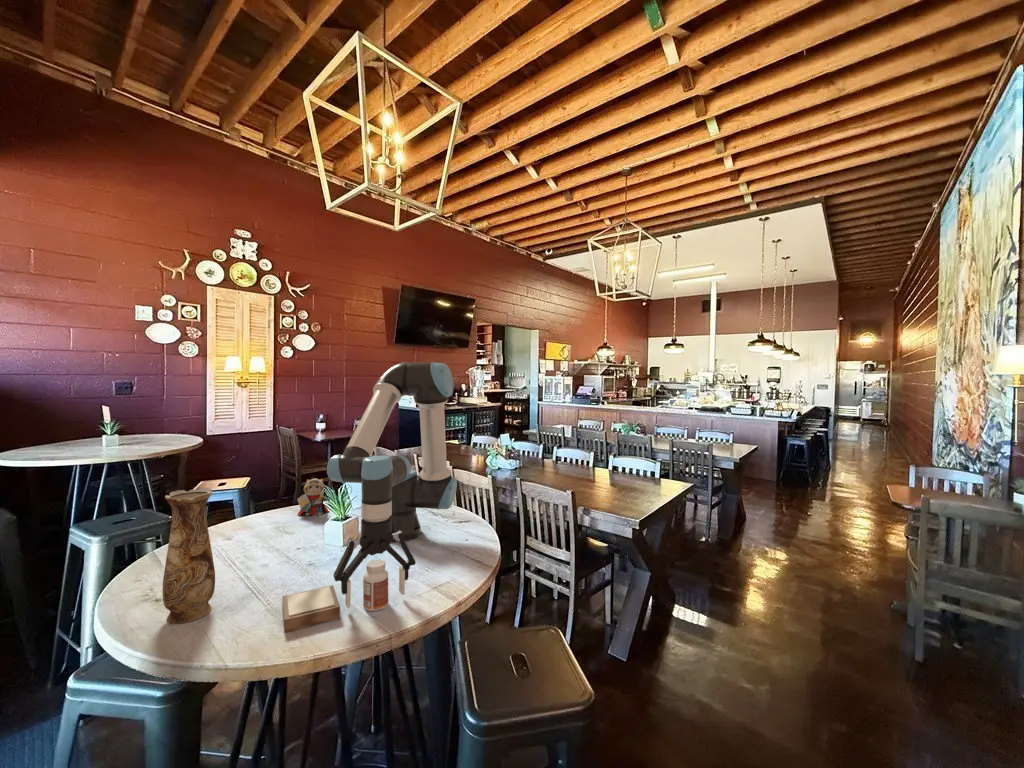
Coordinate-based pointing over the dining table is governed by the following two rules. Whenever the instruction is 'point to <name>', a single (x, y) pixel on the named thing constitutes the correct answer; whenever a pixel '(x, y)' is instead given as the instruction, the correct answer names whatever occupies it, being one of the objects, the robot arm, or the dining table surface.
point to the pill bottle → (375, 586)
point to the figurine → (312, 498)
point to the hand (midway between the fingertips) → (375, 598)
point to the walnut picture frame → (310, 608)
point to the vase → (188, 558)
